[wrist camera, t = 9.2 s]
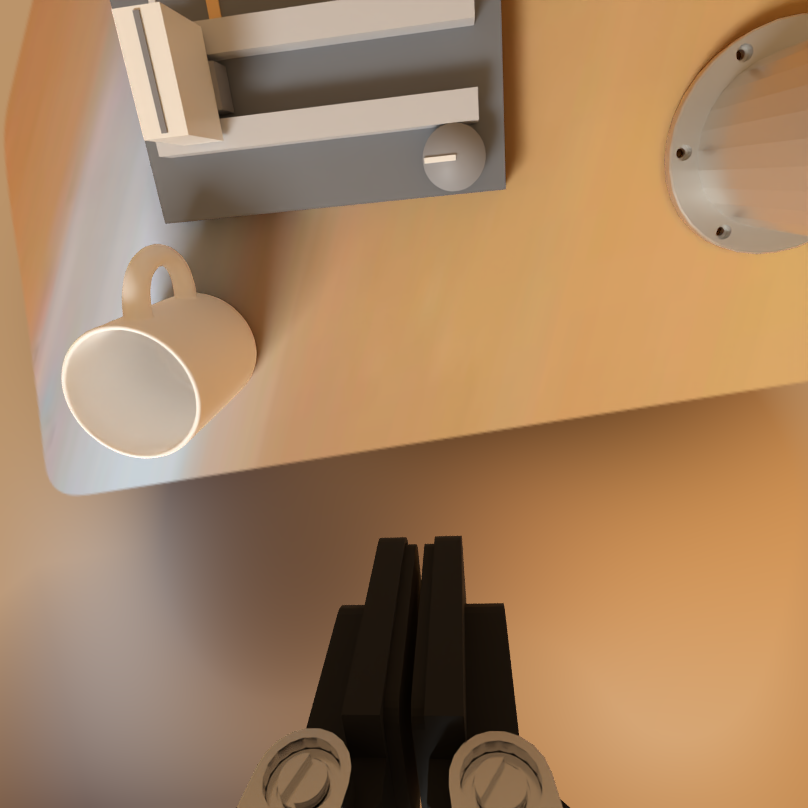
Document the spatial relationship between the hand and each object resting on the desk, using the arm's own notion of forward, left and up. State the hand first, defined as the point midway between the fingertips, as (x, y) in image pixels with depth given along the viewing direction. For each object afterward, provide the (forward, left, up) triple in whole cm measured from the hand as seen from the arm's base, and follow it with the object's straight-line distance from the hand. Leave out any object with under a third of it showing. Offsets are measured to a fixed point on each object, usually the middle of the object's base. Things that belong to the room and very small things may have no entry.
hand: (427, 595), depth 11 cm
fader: (+13, -14, -27) cm, 33 cm away
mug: (+18, 0, -29) cm, 34 cm away
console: (+7, -14, -29) cm, 33 cm away
